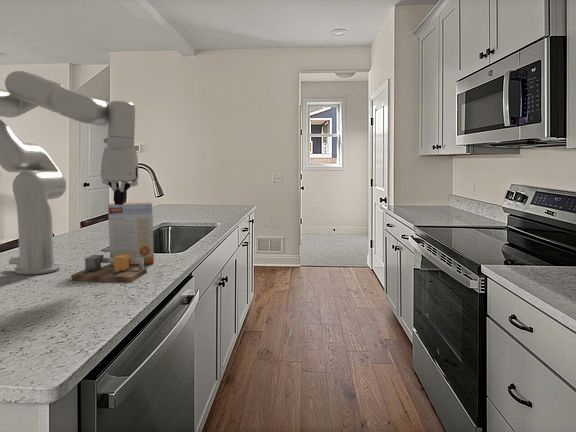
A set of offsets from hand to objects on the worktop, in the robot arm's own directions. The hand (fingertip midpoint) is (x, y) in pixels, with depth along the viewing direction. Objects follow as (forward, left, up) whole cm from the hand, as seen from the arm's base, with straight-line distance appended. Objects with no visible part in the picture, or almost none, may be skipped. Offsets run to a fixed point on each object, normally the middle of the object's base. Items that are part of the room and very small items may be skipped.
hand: (119, 204), depth 146 cm
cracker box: (-3, +16, -22) cm, 27 cm away
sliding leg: (+1, -2, -20) cm, 20 cm away
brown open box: (-2, -3, -22) cm, 22 cm away
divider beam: (-2, -2, -20) cm, 20 cm away
